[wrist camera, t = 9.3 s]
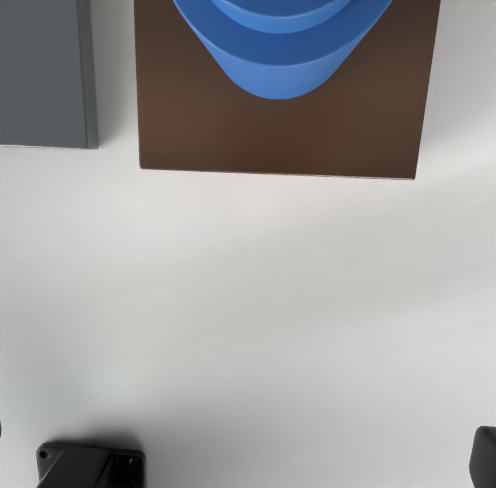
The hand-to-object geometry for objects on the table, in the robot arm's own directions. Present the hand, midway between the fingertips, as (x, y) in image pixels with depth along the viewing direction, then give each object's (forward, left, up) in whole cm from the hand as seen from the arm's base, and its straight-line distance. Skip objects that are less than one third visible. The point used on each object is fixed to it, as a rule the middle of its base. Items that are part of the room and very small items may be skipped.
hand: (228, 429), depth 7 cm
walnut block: (+9, -1, -13) cm, 16 cm away
